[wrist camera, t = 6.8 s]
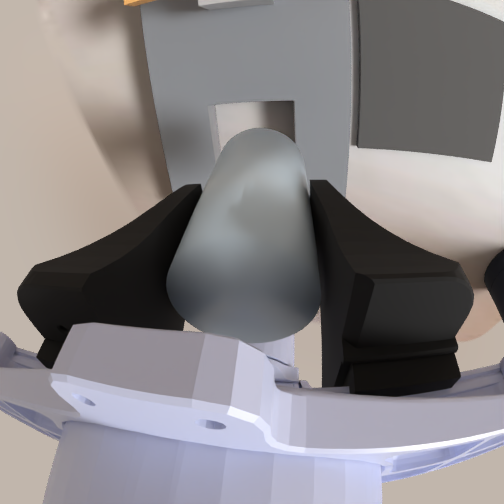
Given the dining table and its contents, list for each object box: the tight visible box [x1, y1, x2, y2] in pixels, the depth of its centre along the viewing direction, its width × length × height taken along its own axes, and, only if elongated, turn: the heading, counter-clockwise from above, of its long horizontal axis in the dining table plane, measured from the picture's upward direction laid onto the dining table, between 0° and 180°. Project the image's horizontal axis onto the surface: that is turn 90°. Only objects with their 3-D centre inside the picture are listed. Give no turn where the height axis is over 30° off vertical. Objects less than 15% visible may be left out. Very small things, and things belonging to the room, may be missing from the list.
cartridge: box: [166, 128, 321, 343], centre depth 11 cm, size 4×4×8 cm
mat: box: [357, 0, 504, 162], centre depth 15 cm, size 12×12×1 cm
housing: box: [140, 0, 351, 197], centre depth 15 cm, size 20×12×5 cm, turn 4°
